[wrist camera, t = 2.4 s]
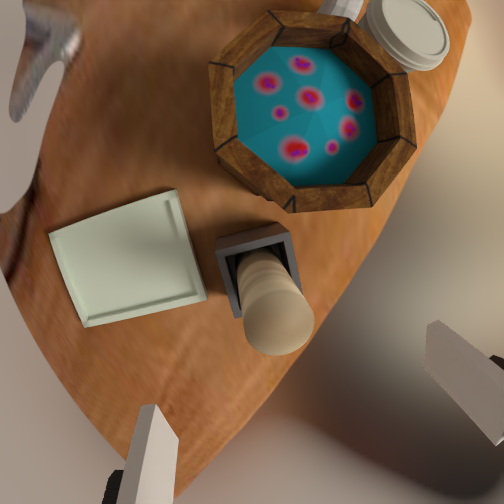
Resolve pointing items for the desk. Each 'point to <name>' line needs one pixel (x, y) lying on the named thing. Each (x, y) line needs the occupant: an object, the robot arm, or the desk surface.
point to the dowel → (271, 303)
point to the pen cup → (249, 240)
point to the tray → (129, 261)
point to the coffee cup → (407, 32)
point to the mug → (311, 110)
